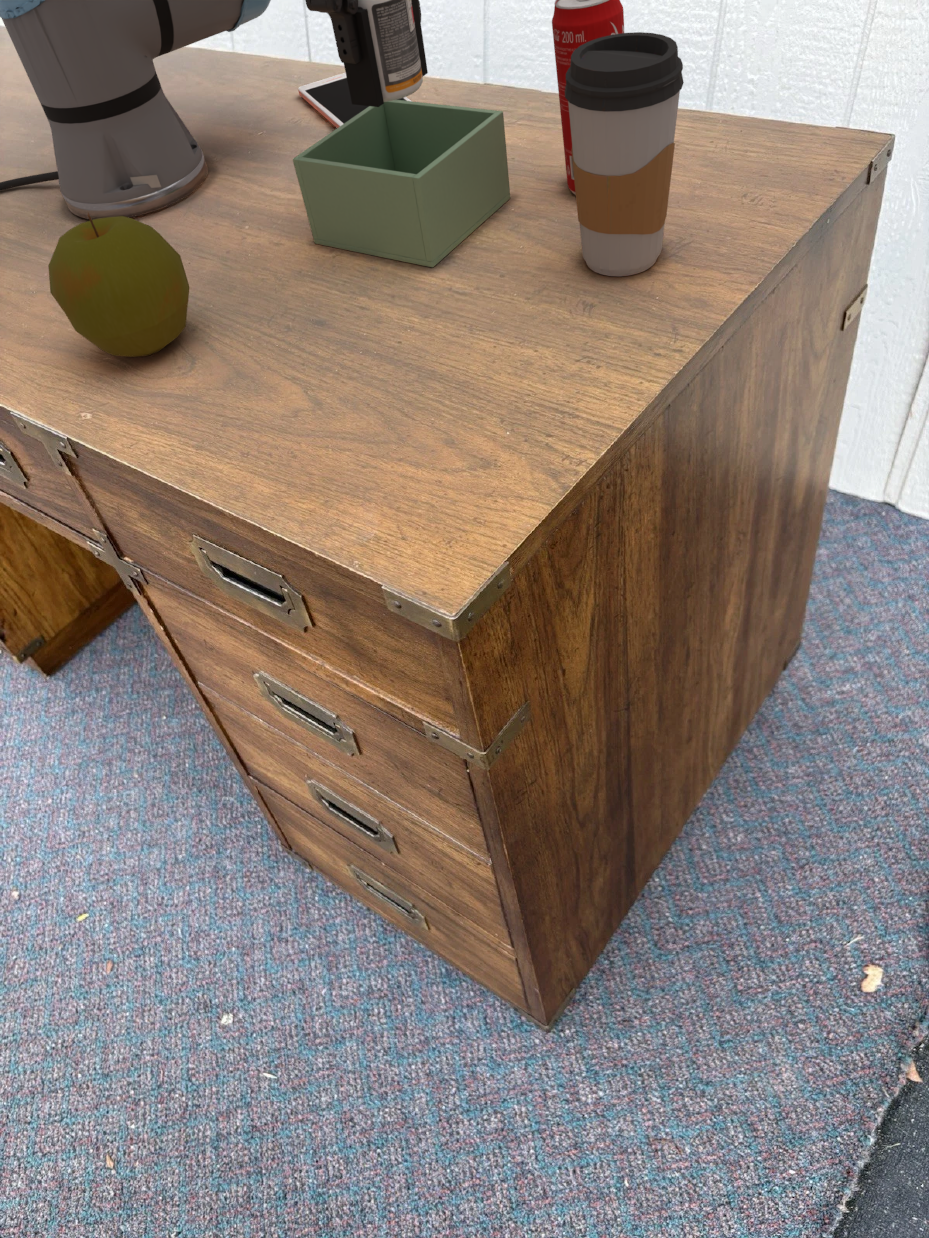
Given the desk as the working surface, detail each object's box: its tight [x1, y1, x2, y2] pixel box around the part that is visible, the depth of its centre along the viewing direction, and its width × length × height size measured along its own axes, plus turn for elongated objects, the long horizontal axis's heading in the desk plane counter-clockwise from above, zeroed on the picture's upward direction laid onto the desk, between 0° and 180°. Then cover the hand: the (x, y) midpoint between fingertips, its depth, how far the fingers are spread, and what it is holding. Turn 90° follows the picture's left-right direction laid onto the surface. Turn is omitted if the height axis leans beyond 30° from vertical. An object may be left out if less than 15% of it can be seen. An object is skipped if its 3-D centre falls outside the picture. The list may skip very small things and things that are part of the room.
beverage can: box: [551, 0, 625, 196], centre depth 75 cm, size 6×6×15 cm
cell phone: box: [297, 71, 412, 129], centre depth 100 cm, size 9×18×1 cm, turn 25°
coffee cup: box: [565, 31, 684, 277], centre depth 66 cm, size 8×8×15 cm
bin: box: [292, 100, 511, 268], centre depth 78 cm, size 13×13×8 cm
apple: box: [47, 213, 191, 358], centre depth 69 cm, size 10×10×11 cm
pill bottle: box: [358, 0, 424, 102], centre depth 69 cm, size 6×6×10 cm
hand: (390, 88), depth 72 cm, fingers closed on pill bottle, 6 cm apart
